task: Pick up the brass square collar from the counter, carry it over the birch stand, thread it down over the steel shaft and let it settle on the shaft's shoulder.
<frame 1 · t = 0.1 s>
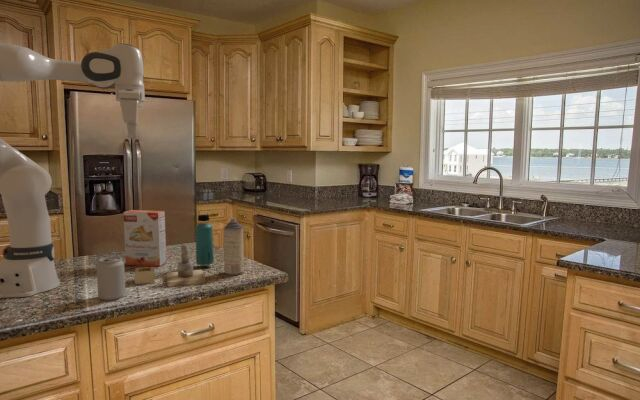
hand: (132, 138, 146), 48 cm above the counter, tool pointing down, fingers open, 8 cm apart
shaft stand: (185, 279, 150), on the counter
can: (112, 297, 132), on the counter
collar: (145, 281, 148), on the counter
beverage bottle: (205, 267, 167), on the counter
cracker box: (146, 264, 170), on the counter
aerosol can: (234, 273, 159), on the counter
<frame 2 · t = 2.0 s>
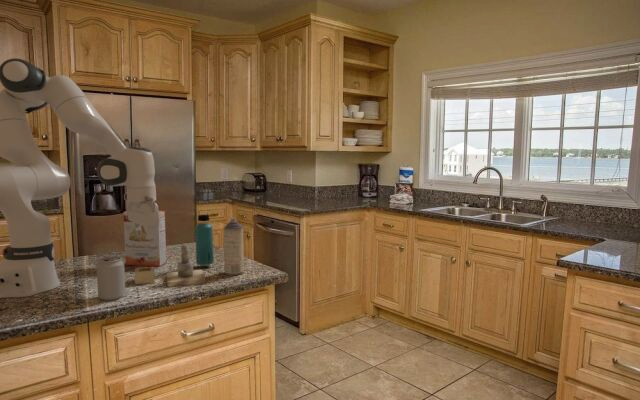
hand: (144, 237, 147), 15 cm above the counter, tool pointing down, fingers open, 8 cm apart
nothing on the counter moved.
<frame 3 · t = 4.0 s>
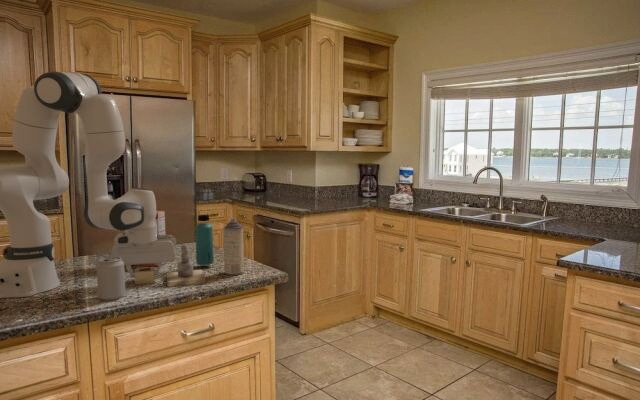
hand: (144, 276, 148), 2 cm above the counter, tool pointing down, fingers closed on collar, 6 cm apart
collar: (145, 281, 148), on the counter, touching gripper
everything else where it was.
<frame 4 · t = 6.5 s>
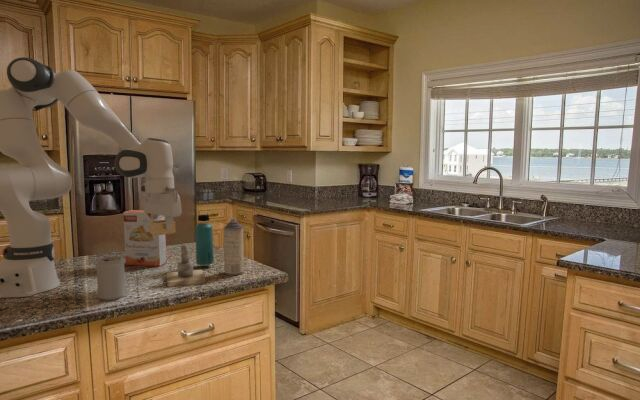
hand: (162, 228, 148), 18 cm above the counter, tool pointing down, fingers closed on collar, 6 cm apart
collar: (162, 233, 148), point 16 cm above the counter, touching gripper
everything else where it was.
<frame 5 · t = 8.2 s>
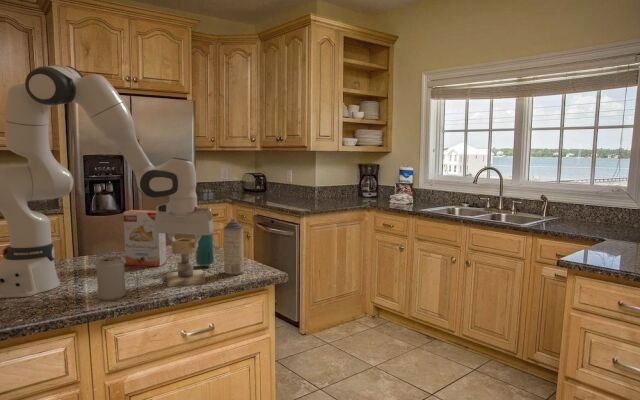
hand: (184, 247, 148), 12 cm above the counter, tool pointing down, fingers closed on collar, 6 cm apart
collar: (185, 251, 149), point 10 cm above the counter, touching gripper
everything else where it was.
when the fingers open (9 cm above the counter, at t = 9.4 s): collar drops 2 cm, resting on shaft stand.
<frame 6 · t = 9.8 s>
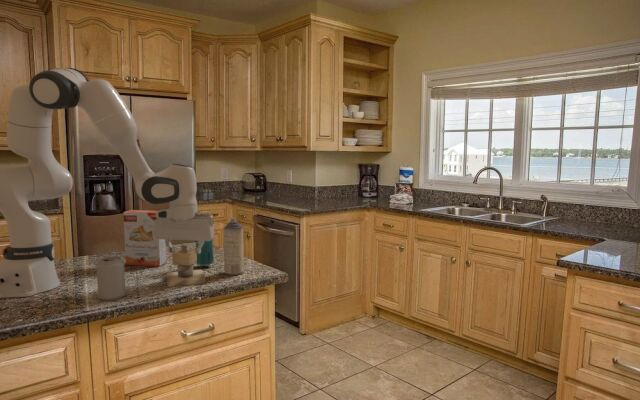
hand: (184, 252, 149), 9 cm above the counter, tool pointing down, fingers open, 8 cm apart
collar: (184, 262, 149), point 6 cm above the counter, touching shaft stand
everything else where it was.
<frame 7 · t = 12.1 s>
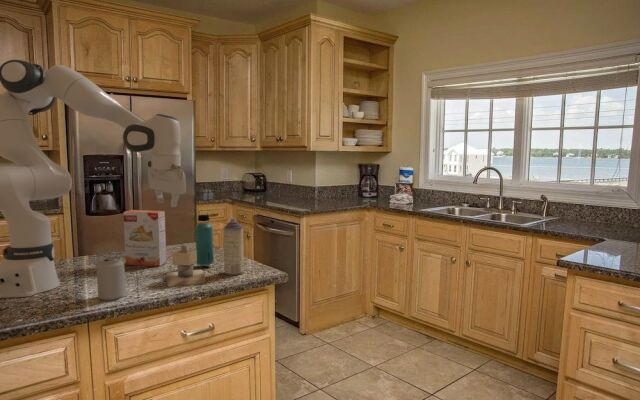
hand: (166, 204, 148), 26 cm above the counter, tool pointing down, fingers open, 8 cm apart
nothing on the counter moved.
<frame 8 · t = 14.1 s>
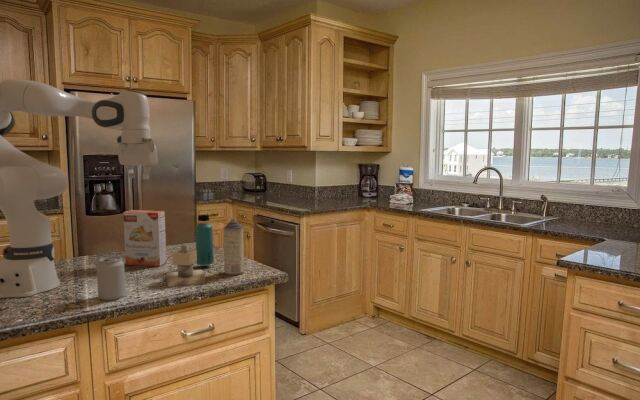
hand: (138, 178, 152), 34 cm above the counter, tool pointing down, fingers open, 8 cm apart
nothing on the counter moved.
at the end: collar 0.1 cm off-centre on the shaft stand, point 6.0 cm above the shaft stand's base; collar tilted 0°; the gripper is holding nothing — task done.
